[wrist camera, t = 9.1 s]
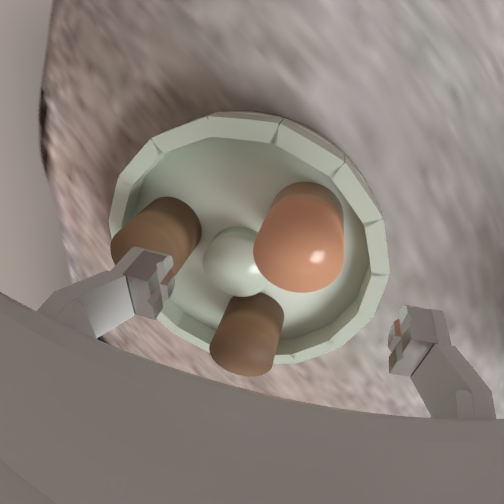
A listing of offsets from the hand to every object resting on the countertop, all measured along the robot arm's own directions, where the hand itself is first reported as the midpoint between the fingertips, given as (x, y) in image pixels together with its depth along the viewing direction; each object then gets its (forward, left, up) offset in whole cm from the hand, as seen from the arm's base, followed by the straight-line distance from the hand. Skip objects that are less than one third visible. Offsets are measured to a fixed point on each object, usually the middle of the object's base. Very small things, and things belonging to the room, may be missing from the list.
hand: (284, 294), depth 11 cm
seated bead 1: (+3, -8, -7) cm, 11 cm away
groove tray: (+4, -3, -9) cm, 10 cm away
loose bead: (+1, 0, -8) cm, 7 cm away
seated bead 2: (+9, -2, -8) cm, 12 cm away
